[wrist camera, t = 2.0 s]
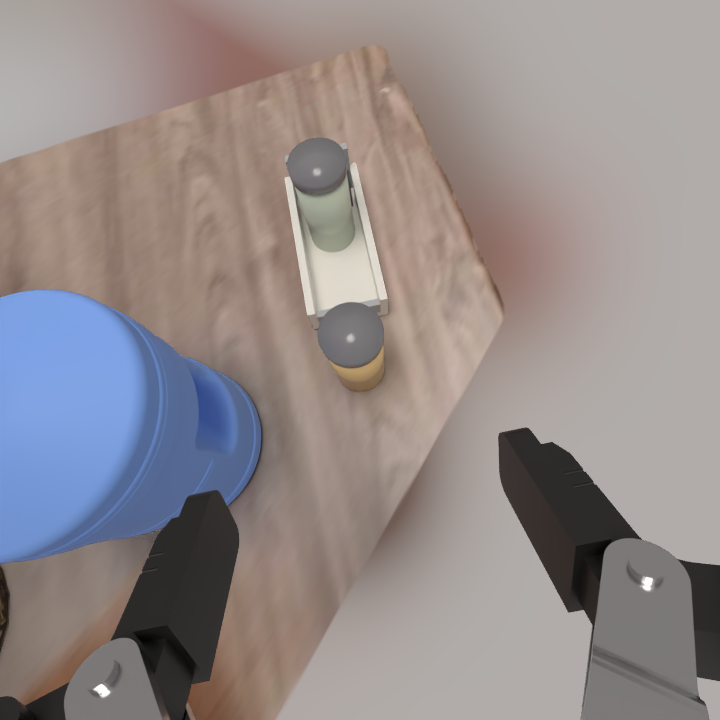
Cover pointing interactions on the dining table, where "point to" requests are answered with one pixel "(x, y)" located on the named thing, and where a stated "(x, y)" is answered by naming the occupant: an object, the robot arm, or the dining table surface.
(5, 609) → the brown round flat disc
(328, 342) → the honey jar
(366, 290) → the jar lane
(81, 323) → the water jug
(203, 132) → the dining table surface
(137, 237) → the dining table surface
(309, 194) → the sage jar
